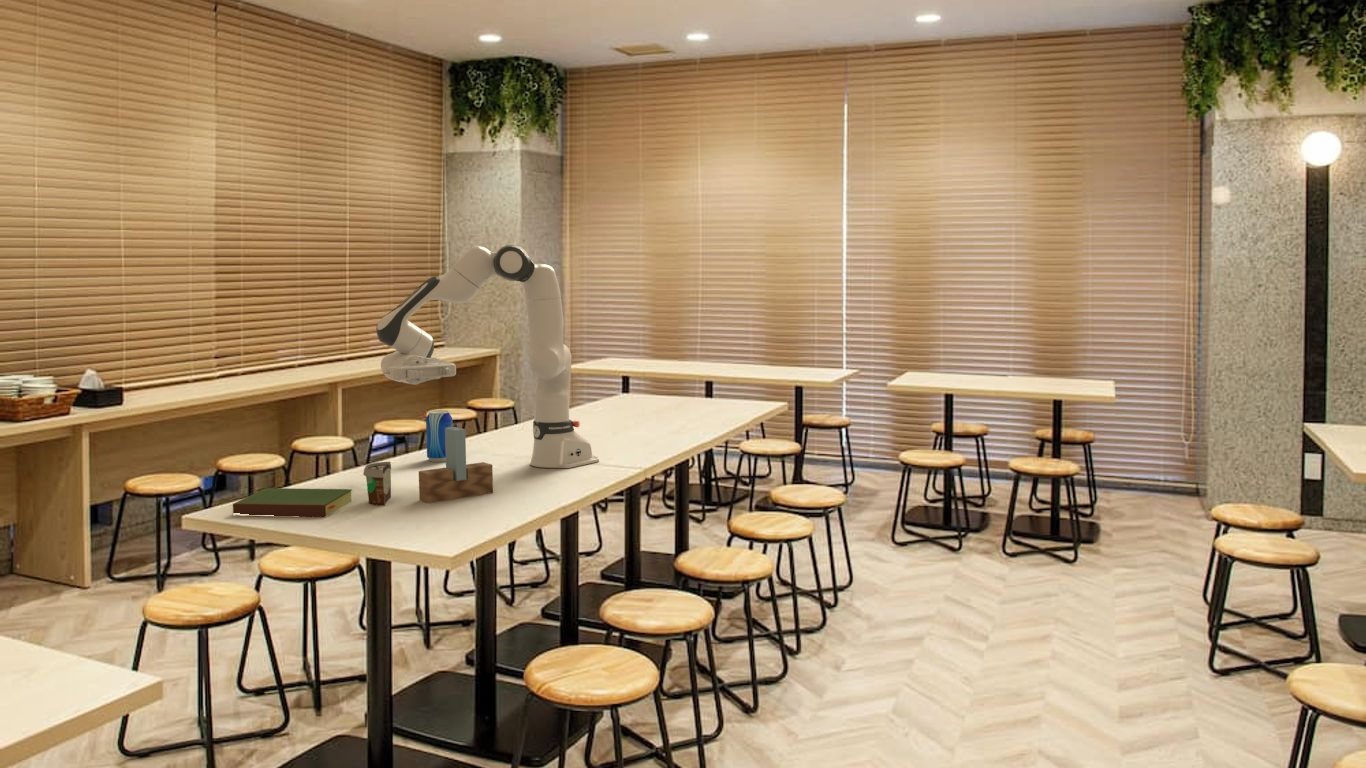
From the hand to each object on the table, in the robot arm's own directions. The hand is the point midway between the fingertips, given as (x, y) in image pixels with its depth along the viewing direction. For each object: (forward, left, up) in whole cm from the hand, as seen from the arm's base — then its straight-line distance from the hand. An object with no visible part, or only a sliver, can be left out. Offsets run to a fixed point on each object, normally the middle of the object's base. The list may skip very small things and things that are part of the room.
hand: (434, 373), depth 317 cm
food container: (+26, +15, -32) cm, 44 cm away
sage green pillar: (+6, +23, -27) cm, 36 cm away
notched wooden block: (+6, +23, -32) cm, 40 cm away
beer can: (-16, -29, -32) cm, 46 cm away
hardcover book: (+45, +8, -33) cm, 57 cm away
